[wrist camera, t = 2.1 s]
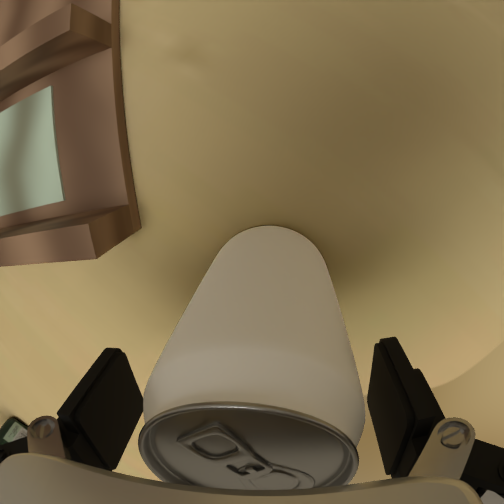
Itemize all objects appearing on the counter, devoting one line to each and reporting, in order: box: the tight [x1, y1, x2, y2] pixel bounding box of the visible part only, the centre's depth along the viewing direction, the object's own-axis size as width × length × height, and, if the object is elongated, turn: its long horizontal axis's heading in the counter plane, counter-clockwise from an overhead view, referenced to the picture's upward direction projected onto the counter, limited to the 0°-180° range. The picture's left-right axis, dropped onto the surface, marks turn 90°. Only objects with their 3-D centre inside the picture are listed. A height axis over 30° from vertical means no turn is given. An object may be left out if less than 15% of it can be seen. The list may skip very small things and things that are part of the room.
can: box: [138, 226, 365, 490], centre depth 12 cm, size 6×6×12 cm
